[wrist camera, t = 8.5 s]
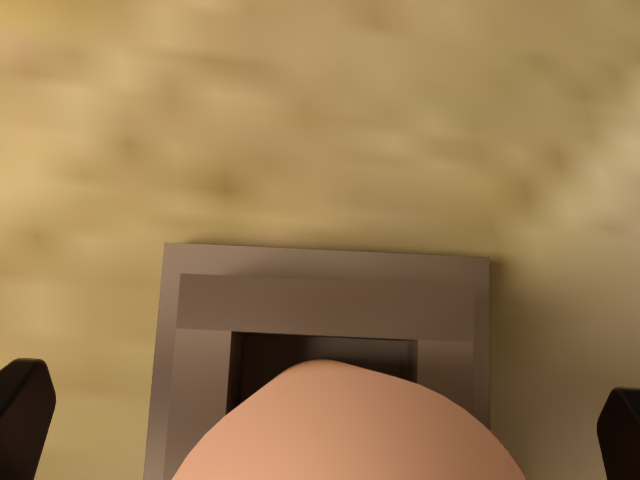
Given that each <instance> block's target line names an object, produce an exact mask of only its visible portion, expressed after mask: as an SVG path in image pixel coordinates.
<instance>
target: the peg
mask: <svg viewBox="0 0 640 480" xmlns="http://www.w3.org/2000/svg"><path fill="white" fill-rule="evenodd" d="M172 480H526V478H525V477H524V475H523V473H522V471H521V469H520V468H519V466H518V465H517V464H516V462H515V461H514V460H513V458H512V457H511V455H510V454H509V453H508V451H507V450H506V448H505V447H504V446H503V445H502V444H501V443H500V442H499V441H498V440H497V438H496V437H495V436H494V435H493V434H492V433H491V432H490V431H489V430H488V429H487V428H486V427H485V426H484V425H483V424H482V423H480V422H479V421H478V420H477V419H476V418H475V417H473V416H472V415H471V414H470V413H469V412H467V411H466V410H465V409H463V408H462V407H460V406H459V405H457V404H455V403H454V402H452V401H451V400H449V399H448V398H446V397H444V396H443V395H441V394H439V393H436V392H434V391H432V390H430V389H428V388H426V387H424V386H422V385H419V384H416V383H413V382H410V381H407V380H404V379H400V378H397V377H394V376H390V375H387V374H383V373H379V372H376V371H372V370H368V369H365V368H361V367H357V366H354V365H350V364H346V363H343V362H339V361H335V360H331V359H321V358H317V359H309V360H305V361H301V362H299V363H296V364H294V365H292V366H290V367H289V368H287V369H286V370H284V371H283V372H282V373H280V374H279V375H278V376H276V377H275V378H274V379H273V380H271V381H270V382H269V383H267V384H266V385H265V386H263V387H262V388H261V389H260V390H258V391H257V392H256V393H254V394H253V395H252V396H250V397H249V398H248V399H247V400H245V401H244V402H243V403H241V404H240V405H239V406H237V407H236V408H235V409H233V410H232V411H231V412H230V413H228V414H227V415H226V416H224V417H223V418H222V419H221V420H220V421H219V422H218V423H217V424H216V425H215V426H214V427H213V428H211V429H210V430H209V431H208V432H207V433H206V434H205V435H204V436H203V437H202V439H201V440H200V441H199V442H198V443H197V445H196V446H195V447H194V448H193V449H192V451H191V452H190V453H189V454H188V455H187V457H186V458H185V460H184V461H183V463H182V465H181V466H180V468H179V469H178V471H177V472H176V474H175V475H174V477H173V479H172Z"/></svg>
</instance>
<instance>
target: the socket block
mask: <svg viewBox="0 0 640 480" xmlns="http://www.w3.org/2000/svg"><path fill="white" fill-rule="evenodd" d="M317 358H321V359H331V360H335V361H339V362H343V363H346V364H350V365H354V366H357V367H361V368H365V369H368V370H372V371H376V372H379V373H383V374H387V375H390V376H394V377H397V378H400V379H404V380H407V381H410V382H413V383H416V384H419V385H422V386H424V387H426V388H428V389H430V390H432V391H434V392H436V393H439V394H441V395H443V396H444V397H446V398H448V399H449V400H451V401H452V402H454V403H455V404H457V405H459V406H460V407H462V408H463V409H465V410H466V411H467V412H469V413H470V414H471V415H472V416H473V417H475V418H476V419H477V420H478V421H479V422H480V423H482V424H483V425H484V426H485V427H486V428H487V429H488V430H489V431H490V258H487V257H466V256H444V255H423V254H402V253H380V252H359V251H337V250H316V249H295V248H273V247H252V246H231V245H209V244H188V243H166V242H165V244H164V255H163V266H162V277H161V288H160V299H159V310H158V321H157V332H156V343H155V354H154V365H153V376H152V387H151V398H150V409H149V420H148V431H147V442H146V453H145V464H144V475H143V480H172V479H173V477H174V475H175V474H176V472H177V471H178V469H179V468H180V466H181V465H182V463H183V461H184V460H185V458H186V457H187V455H188V454H189V453H190V452H191V451H192V449H193V448H194V447H195V446H196V445H197V443H198V442H199V441H200V440H201V439H202V437H203V436H204V435H205V434H206V433H207V432H208V431H209V430H210V429H211V428H213V427H214V426H215V425H216V424H217V423H218V422H219V421H220V420H221V419H222V418H223V417H224V416H226V415H227V414H228V413H230V412H231V411H232V410H233V409H235V408H236V407H237V406H239V405H240V404H241V403H243V402H244V401H245V400H247V399H248V398H249V397H250V396H252V395H253V394H254V393H256V392H257V391H258V390H260V389H261V388H262V387H263V386H265V385H266V384H267V383H269V382H270V381H271V380H273V379H274V378H275V377H276V376H278V375H279V374H280V373H282V372H283V371H284V370H286V369H287V368H289V367H290V366H292V365H294V364H296V363H299V362H301V361H305V360H309V359H317Z"/></svg>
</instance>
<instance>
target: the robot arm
mask: <svg viewBox="0 0 640 480" xmlns="http://www.w3.org/2000/svg"><path fill="white" fill-rule="evenodd" d="M55 404H56V394H55V390H54V387H53V383H52V380H51V377H50V374H49V371H48V367H47V365H46V363H45V362H44V361H43V360H42V359H32V358H18V359H15V360H13V361H12V362H10V363H9V364H8V365H6V366H5V367H4V368H2V369H1V370H0V480H34V477H35V474H36V470H37V467H38V463H39V460H40V457H41V453H42V450H43V446H44V443H45V440H46V436H47V433H48V430H49V426H50V423H51V419H52V416H53V413H54V409H55ZM597 435H598V440H599V444H600V449H601V453H602V458H603V462H604V467H605V471H606V476H607V480H640V388H636V387H615V388H614V389H613V390H612V391H611V392H610V394H609V396H608V399H607V401H606V403H605V405H604V407H603V410H602V412H601V414H600V416H599V418H598V422H597Z"/></svg>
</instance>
